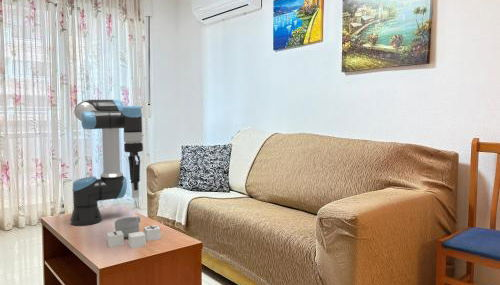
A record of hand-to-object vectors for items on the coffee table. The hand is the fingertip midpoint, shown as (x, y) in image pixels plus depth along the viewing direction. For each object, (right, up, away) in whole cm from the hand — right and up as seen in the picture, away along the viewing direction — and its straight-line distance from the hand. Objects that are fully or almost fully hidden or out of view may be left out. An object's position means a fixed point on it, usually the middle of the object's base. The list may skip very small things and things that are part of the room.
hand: (135, 197), depth 159 cm
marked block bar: (-10, -21, +3) cm, 23 cm away
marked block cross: (+4, -20, +11) cm, 23 cm away
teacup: (-7, -20, +16) cm, 27 cm away
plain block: (0, -21, +2) cm, 21 cm away
